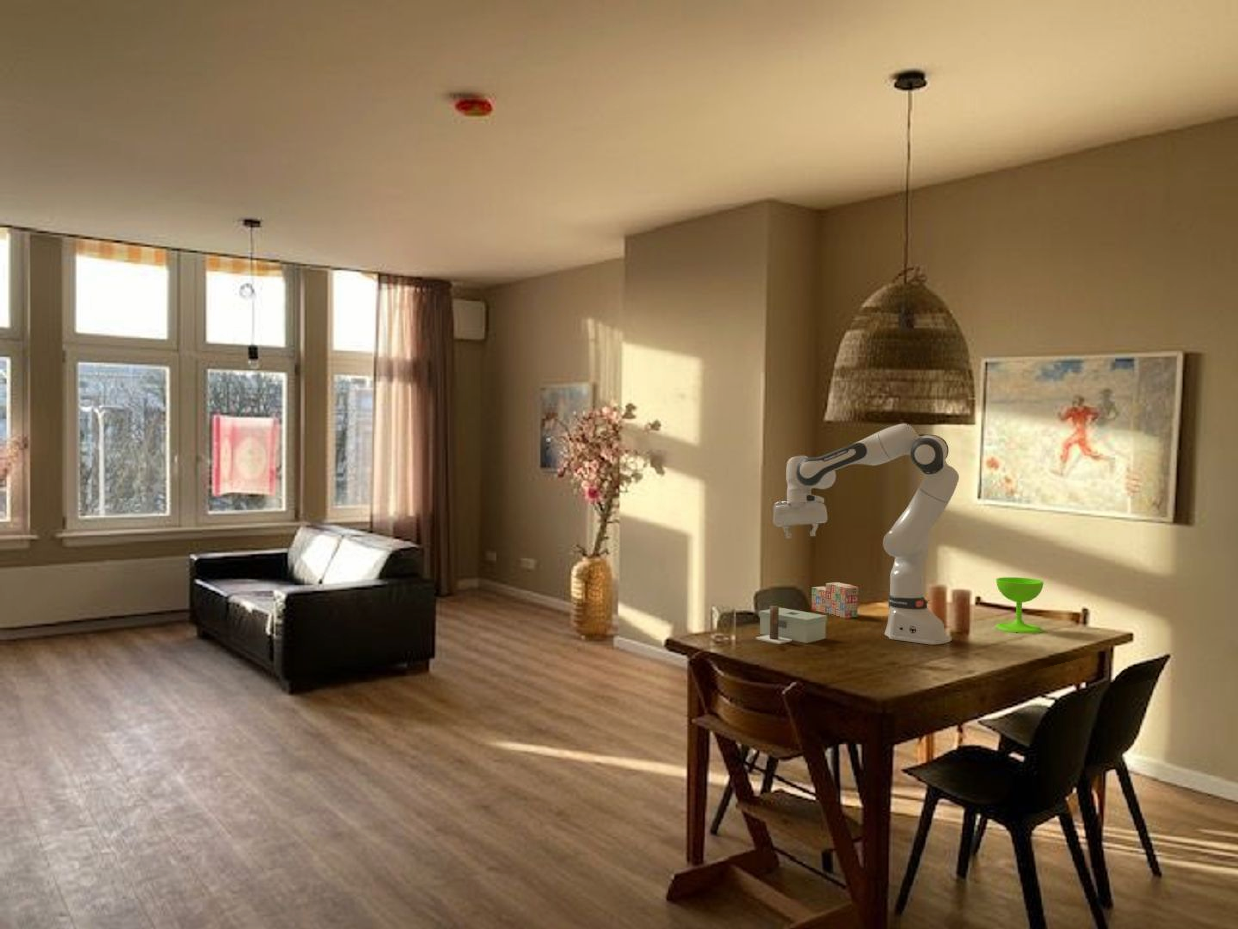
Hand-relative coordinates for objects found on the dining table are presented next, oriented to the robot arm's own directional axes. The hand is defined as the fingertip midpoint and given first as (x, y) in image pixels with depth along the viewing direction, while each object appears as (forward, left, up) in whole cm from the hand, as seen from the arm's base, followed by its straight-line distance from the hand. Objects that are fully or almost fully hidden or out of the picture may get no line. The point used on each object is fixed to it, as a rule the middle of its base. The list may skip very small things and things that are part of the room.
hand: (800, 536), depth 334 cm
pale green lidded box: (-7, +14, -34) cm, 37 cm away
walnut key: (-7, +24, -33) cm, 41 cm away
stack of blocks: (+9, -34, -34) cm, 49 cm away
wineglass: (-54, -60, -34) cm, 88 cm away
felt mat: (-7, +24, -34) cm, 42 cm away
